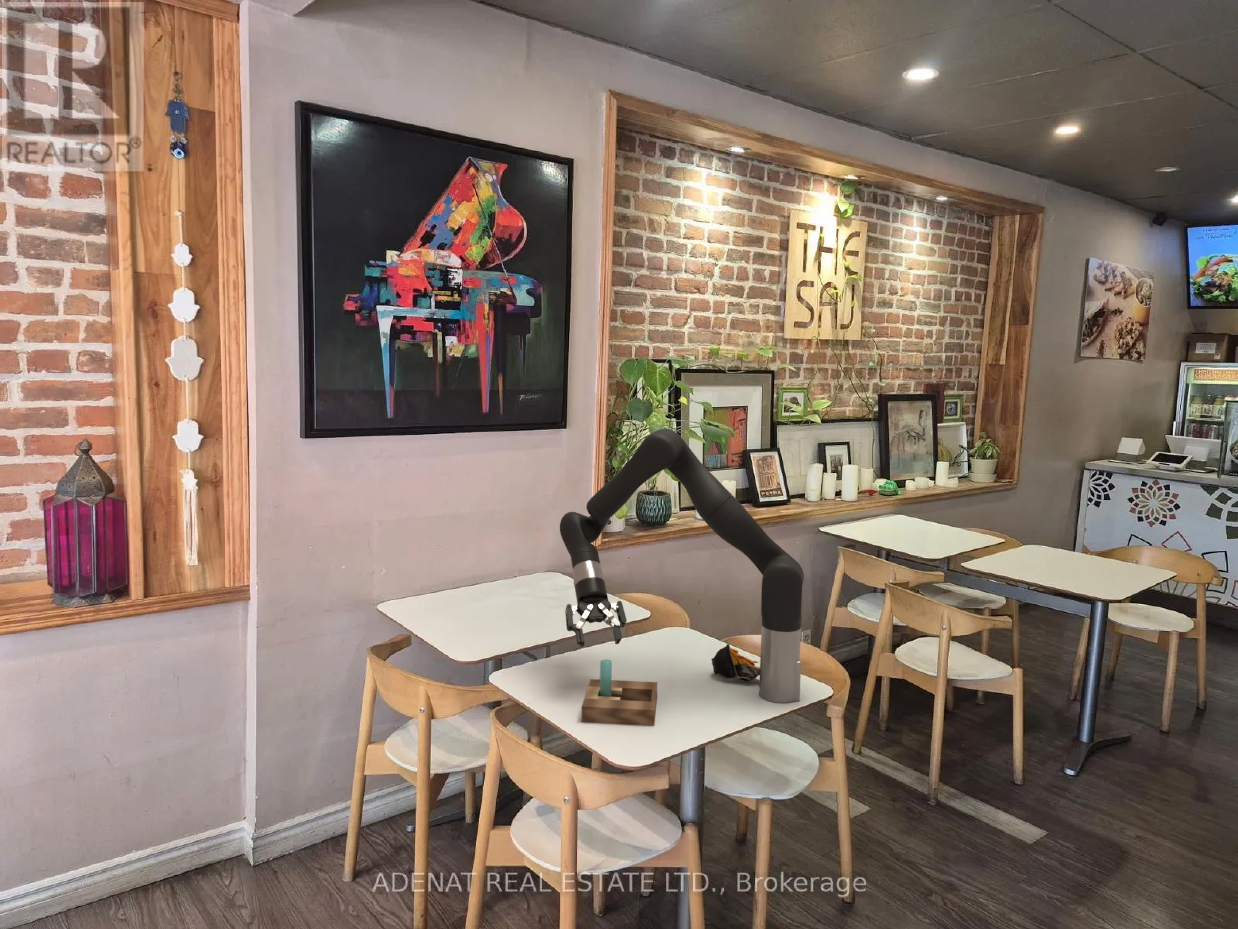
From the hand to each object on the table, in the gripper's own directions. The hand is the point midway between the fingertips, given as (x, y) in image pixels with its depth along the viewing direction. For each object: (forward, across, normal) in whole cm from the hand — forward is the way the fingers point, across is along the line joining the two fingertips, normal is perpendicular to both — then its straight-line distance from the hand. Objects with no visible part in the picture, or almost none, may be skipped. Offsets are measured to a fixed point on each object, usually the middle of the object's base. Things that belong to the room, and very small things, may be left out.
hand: (600, 644), depth 192 cm
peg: (+13, 0, +5) cm, 14 cm away
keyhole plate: (+14, +3, +4) cm, 15 cm away
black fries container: (+8, +39, +12) cm, 41 cm away
